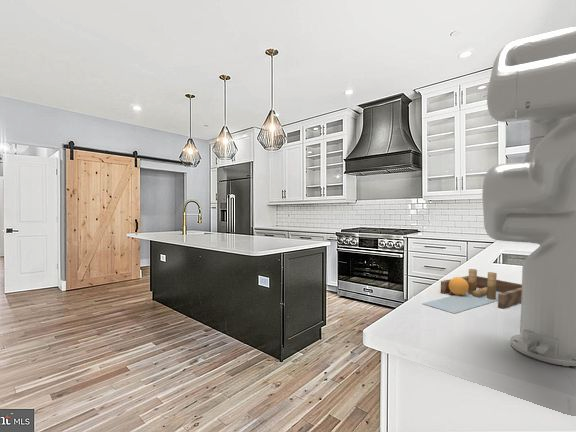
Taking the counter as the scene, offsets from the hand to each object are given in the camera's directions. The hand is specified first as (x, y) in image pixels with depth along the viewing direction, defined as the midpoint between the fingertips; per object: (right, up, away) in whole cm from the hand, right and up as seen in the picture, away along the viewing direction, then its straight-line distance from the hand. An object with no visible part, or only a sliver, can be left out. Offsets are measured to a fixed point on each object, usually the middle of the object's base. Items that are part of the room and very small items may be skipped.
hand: (545, 217), depth 80 cm
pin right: (0, -27, +21) cm, 34 cm away
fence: (0, -26, +25) cm, 36 cm away
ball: (-9, -23, +25) cm, 35 cm away
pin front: (-4, -25, +22) cm, 34 cm away
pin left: (-3, -26, +26) cm, 37 cm away
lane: (-8, -26, +20) cm, 34 cm away
